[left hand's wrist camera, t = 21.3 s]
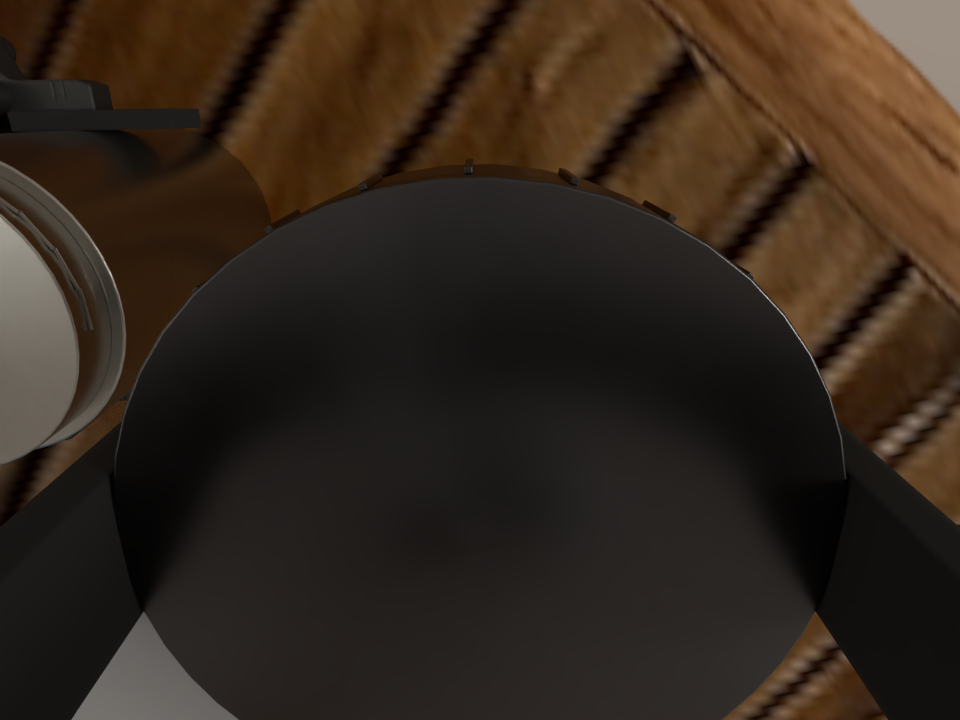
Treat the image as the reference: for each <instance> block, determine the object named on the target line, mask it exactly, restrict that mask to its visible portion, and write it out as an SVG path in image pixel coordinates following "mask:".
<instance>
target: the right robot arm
mask: <svg viewBox="0 0 960 720" xmlns="http://www.w3.org/2000/svg"><path fill="white" fill-rule="evenodd" d="M15 60H16V52H15V49H14V47H13V46H12V44H11V43H10V42H9V41H8V40H6V39H5V38H2V37H0V134H4V133H11V132H21V131H77V130H132V129H179V128H197V127H201V122H200V116H199V110H198V109H122V110H113V107H112V102H111V97H110V92H109V87H108V86H107V85H105V84H102V83H99V82H97V81H90V80H78V79H67V80H30V79H29V78H27V77H26V76H25V75H23V74H22V72H21V71H20V70H19V68H18V66H17V65H16V63H15ZM131 392H132V390H131V391H130V392H129V393H127V394H126V395H125V396H124V397H122V398H121V399H120V400H119V401H122V400H129V397H130V394H131ZM97 418H98V417H97ZM92 422H93V421H92ZM92 422H91V423H92ZM86 427H87V426H86ZM82 430H83V429H82ZM82 430H81V431H82ZM81 431H79V432H81ZM79 432H77V433H76V434H74V435H73V436H71V437H69V438H67V439H65V440H68V439H71V438H73V437H74V436H75V435H77V434H78V433H79Z"/></svg>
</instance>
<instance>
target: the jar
mask: <svg viewBox="0 0 960 720" xmlns="http://www.w3.org/2000/svg"><path fill="white" fill-rule="evenodd" d="M270 224H271V219H270V215H269V211H268V208H267V205H266V202H265V200H264V197H263V195H262V193H261V191H260V189H259V187H258V185H257V184H256V182H255V180H254V179H253V178H252V176H251V175H250V173H249V172H248V170H247V169H246V168H245V167H244V166H243V165H242V164H241V163H240V162H239V160H237V159H236V158H235V157H234V156H233V155H232V154H231V153H230V152H228V151H227V150H226V149H224V148H223V147H221V146H220V145H219V144H217V143H215V142H214V141H212V140H210V139H208V138H206V137H204V136H202V135H199V134H197V133H194V132H191V131H188V130H184V129H180V128H179V129H132V130H77V131H49V132H26V133H4V134H0V465H2V464H6V463H9V462H11V461H14V460H16V459H18V458H20V457H23V456H25V455H27V454H28V453H30V452H31V451H33V450H35V449H39V448H43V447H46V446H50V445H53V444H56V443H58V442H60V441H62V440H65V439H67V438H69V437H71V436H73V435H74V434H76V433H77V432H79V431H81V430H82V429H84V428H85V427H86V426H88V425H89V424H90V423H91V422H92V421H94V420H95V419H96V418H97V417H99V416H100V415H101V414H102V413H104V412H105V411H106V410H107V409H109V408H110V407H111V406H112V405H114V404H115V403H116V402H117V401H119V400H120V399H121V398H122V397H124V396H125V395H126V394H127V393H129V392H130V391H131V390H132V389H133V386H134V384H135V381H136V378H137V376H138V373H139V371H140V369H141V367H142V365H143V364H144V362H145V360H146V358H147V357H148V355H149V353H150V351H151V350H152V348H153V346H154V344H155V343H156V341H157V339H158V337H159V336H160V334H161V332H162V331H163V329H164V328H165V327H166V326H167V324H168V323H169V322H170V321H171V319H172V318H173V317H174V316H175V314H176V313H177V312H178V311H179V309H180V308H181V307H182V306H183V305H184V303H185V302H186V301H187V300H188V298H189V297H190V296H191V295H192V293H193V292H192V290H193V289H194V288H195V287H196V286H198V285H199V284H201V283H203V282H204V281H206V280H208V279H209V278H210V277H211V276H212V275H213V274H214V273H215V272H216V271H217V270H219V269H220V268H221V267H222V266H223V265H224V264H225V263H226V262H227V261H228V260H230V259H231V258H232V257H233V256H235V255H236V254H238V253H239V252H241V251H242V250H244V249H245V248H247V247H248V246H250V245H251V244H253V243H254V242H256V241H257V240H259V239H260V238H262V237H263V236H265V235H266V234H268V233H267V232H266V230H265V228H266V227H267V226H269V225H270Z"/></svg>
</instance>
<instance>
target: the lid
mask: <svg viewBox="0 0 960 720" xmlns="http://www.w3.org/2000/svg"><path fill="white" fill-rule="evenodd" d="M676 218H677V217H675V216H674V215H672V214H670V213H668V212H666V211H665V210H663V209H661V208H659V207H657V206H655V205H653V204H652V203H650V202H648V201H646V200H645V201H644V202H643V204H642V205H641V204H639V203H638V202H636V201H634V200H632V199H631V198H629V197H626V196H624V195H621V194H619V193H616V192H614V191H611V190H609V189H606V188H604V187H601V186H599V185H596V184H594V183H591V182H589V181H586V180H582V179H579V178H577V177H576V176H575V175H573V174H572V173H570V172H569V171H567V170H566V169H562V168H559V172H558V173H554V172H550V171H546V170H542V169H534V168H525V167H515V166H506V165H496V164H481V165H473V159H466V163H465V165H449V166H440V167H434V168H428V169H422V170H416V171H410V172H404V173H398V174H395V175H392V176H389V177H386V178H382V175H381V173H378V174H375V175H373V176H372V177H370V178H369V179H367V180H365V181H364V182H362V183H360V184H359V185H358V186H357V187H354V188H352V189H349V190H347V191H345V192H343V193H341V194H339V195H337V196H335V197H333V198H331V199H328V200H326V201H324V202H322V203H320V204H318V205H316V206H314V207H312V208H310V209H308V210H307V211H305V212H303V213H301V212H300V211H299V210H296V211H294V212H292V213H291V214H289V215H287V216H285V217H283V218H281V219H280V220H278V221H276V222H274V223H272V224H270V225H269V226H267V227H266V228H265V230H266V232H267V233H268V234H266V235H265V236H263V237H262V238H260V239H259V240H257V241H256V242H254V243H253V244H251V245H250V246H248V247H247V248H245V249H244V250H242V251H241V252H239V253H238V254H236V255H235V256H233V257H232V258H231V259H230V260H228V261H227V262H226V263H225V264H224V265H223V266H222V267H221V268H220V269H219V270H217V271H216V272H215V273H214V274H213V275H212V276H211V277H210V278H209V279H208V280H206V281H204V282H203V283H201V284H199V285H198V286H196V287H195V288H194V289H193V290H192V292H193V293H192V295H191V296H190V297H189V298H188V300H187V301H186V302H185V303H184V305H183V306H182V307H181V308H180V309H179V311H178V312H177V313H176V314H175V316H174V317H173V318H172V319H171V321H170V322H169V323H168V324H167V326H166V327H165V328H164V329H163V331H162V332H161V334H160V336H159V337H158V339H157V341H156V343H155V344H154V346H153V348H152V350H151V351H150V353H149V355H148V357H147V358H146V360H145V362H144V364H143V365H142V367H141V369H140V371H139V373H138V376H137V378H136V381H135V384H134V386H133V389H132V392H131V394H130V397H129V400H128V402H127V405H126V408H125V410H124V413H123V418H122V423H121V428H120V433H119V438H118V443H117V448H116V453H115V464H114V491H113V500H114V509H115V517H116V524H117V528H118V533H119V538H120V542H121V546H122V550H123V554H124V558H125V562H126V566H127V570H128V574H129V578H130V581H131V583H132V585H133V588H134V590H135V592H136V594H137V597H138V599H139V601H140V603H141V606H142V608H143V610H144V613H145V614H146V616H147V617H148V619H149V621H150V622H151V624H152V626H153V627H154V629H155V630H156V632H157V634H158V635H159V637H160V639H161V640H162V642H163V643H164V645H165V647H166V648H167V649H168V650H169V652H170V653H171V654H172V655H173V656H174V658H175V659H176V660H177V661H178V663H179V664H180V665H181V666H182V668H183V669H184V670H185V671H186V673H187V674H188V675H189V676H190V677H191V678H192V679H193V680H194V681H195V682H196V683H197V684H198V685H199V686H200V687H201V688H202V689H203V690H204V691H205V692H206V693H207V694H208V695H209V696H210V697H211V698H212V699H213V700H214V701H215V702H216V703H218V704H219V705H220V706H221V707H223V708H224V709H225V710H227V711H228V712H229V713H230V714H232V715H233V716H234V717H236V718H237V719H238V720H722V719H723V718H725V717H726V716H727V715H728V714H730V713H731V712H732V711H733V710H734V709H735V708H737V707H738V706H739V705H740V704H741V703H742V702H744V701H745V700H746V699H747V698H748V697H749V696H751V695H752V694H753V693H754V692H755V691H756V690H757V689H758V688H759V687H760V686H761V685H762V684H763V683H764V681H765V680H766V679H767V678H768V677H769V676H770V675H771V674H772V673H773V672H774V671H775V670H776V669H777V667H778V666H779V665H780V664H781V663H782V662H783V660H784V659H785V658H786V656H787V655H788V653H789V652H790V651H791V649H792V648H793V646H794V645H795V644H796V642H797V641H798V639H799V638H800V637H801V635H802V634H803V632H804V631H805V629H806V627H807V625H808V623H809V622H810V620H811V618H812V616H813V614H814V612H815V610H816V609H817V607H818V605H819V603H820V601H821V599H822V597H823V595H824V592H825V589H826V587H827V584H828V581H829V578H830V576H831V572H832V568H833V565H834V561H835V557H836V553H837V548H838V544H839V540H840V535H841V531H842V527H843V522H844V517H845V499H846V471H845V461H844V452H843V443H842V436H841V432H840V428H839V425H838V421H837V418H836V414H835V410H834V407H833V403H832V400H831V396H830V393H829V391H828V389H827V387H826V384H825V382H824V380H823V378H822V376H821V374H820V371H819V369H818V367H817V365H816V363H815V361H814V358H813V356H812V354H811V352H810V351H809V349H808V348H807V346H806V345H805V343H804V342H803V340H802V339H801V337H800V336H799V334H798V333H797V331H796V330H795V328H794V327H793V325H792V324H791V322H790V321H789V320H788V318H787V317H786V315H785V314H784V312H783V311H782V310H781V309H780V308H779V307H778V306H777V305H776V304H775V303H774V302H773V301H772V299H771V298H770V297H769V296H768V295H767V294H766V293H765V292H764V291H763V290H762V289H761V288H760V287H759V285H758V284H757V283H756V282H755V281H754V280H753V278H754V276H753V275H752V274H751V273H750V272H749V271H747V270H745V269H744V268H742V267H740V266H739V265H737V264H735V263H734V262H732V261H730V260H729V259H727V258H726V257H725V256H724V255H722V254H721V253H720V252H719V251H717V250H716V249H715V248H714V247H712V246H711V245H710V244H708V243H706V242H705V241H703V240H701V239H700V238H698V237H696V236H694V235H693V234H691V233H689V232H688V231H686V230H684V229H682V228H681V227H679V226H677V225H676V224H674V222H675V220H676Z"/></svg>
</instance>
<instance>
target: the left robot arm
mask: <svg viewBox="0 0 960 720" xmlns="http://www.w3.org/2000/svg"><path fill="white" fill-rule="evenodd" d="M121 423H122V422H121ZM121 423H119V424H118V425H117V426H116V427H115V428H114V429H113V430H111V431H110V432H109V433H108V434H107V435H106V436H104V437H103V438H102V439H101V440H100V441H99V442H98V443H96V444H95V445H94V446H93V447H92V448H91V449H90V450H88V451H87V452H86V453H85V454H84V455H83V456H81V457H80V458H79V459H78V460H77V461H76V462H75V463H73V464H72V465H71V466H70V467H69V468H68V469H67V470H65V471H64V472H63V473H62V474H61V475H60V476H59V477H57V478H56V479H55V480H54V481H53V482H52V483H50V484H49V485H48V486H47V487H46V488H45V489H44V490H42V491H41V492H40V493H39V494H38V495H37V496H36V497H34V498H33V499H32V500H31V501H30V502H29V503H27V504H26V505H25V506H24V507H23V508H22V509H21V510H19V511H18V512H17V513H16V514H15V515H14V516H13V517H11V518H10V519H9V520H8V521H7V522H6V523H4V524H3V525H2V526H1V527H0V720H238V719H237V718H236V717H234V716H233V715H232V714H230V713H229V712H228V711H227V710H225V709H224V708H223V707H221V706H220V705H219V704H218V703H216V702H215V701H214V700H213V699H212V698H211V697H210V696H209V695H208V694H207V693H206V692H205V691H204V690H203V689H202V688H201V687H200V686H199V685H198V684H197V683H196V682H195V681H194V680H193V679H192V678H191V677H190V676H189V675H188V674H187V673H186V671H185V670H184V669H183V668H182V666H181V665H180V664H179V663H178V661H177V660H176V659H175V658H174V656H173V655H172V654H171V653H170V652H169V650H168V649H167V648H166V647H165V645H164V643H163V642H162V640H161V639H160V637H159V635H158V634H157V632H156V630H155V629H154V627H153V626H152V624H151V622H150V621H149V619H148V617H147V616H146V614H145V613H144V610H143V608H142V606H141V603H140V601H139V599H138V597H137V594H136V592H135V590H134V588H133V585H132V583H131V581H130V578H129V574H128V570H127V566H126V562H125V558H124V554H123V550H122V546H121V542H120V538H119V533H118V528H117V524H116V517H115V509H114V500H113V491H114V464H115V453H116V448H117V443H118V438H119V433H120V428H121ZM838 425H839V428H840V432H841V436H842V443H843V452H844V461H845V471H846V499H845V517H844V522H843V527H842V531H841V535H840V540H839V544H838V548H837V553H836V557H835V561H834V565H833V568H832V572H831V576H830V578H829V581H828V584H827V587H826V589H825V592H824V595H823V597H822V599H821V601H820V603H819V605H818V607H817V609H816V610H815V611H816V613H817V614H818V616H819V617H820V619H821V620H822V622H823V623H824V625H825V626H826V627H827V629H828V630H829V632H830V633H831V635H832V636H833V638H834V639H835V641H836V642H837V644H838V645H839V647H840V648H841V650H842V651H843V653H844V654H845V656H846V657H847V659H848V660H849V662H850V663H851V665H852V666H853V668H854V669H855V671H856V672H857V674H858V675H859V677H860V678H861V680H862V681H863V683H864V684H865V686H866V687H867V689H868V690H869V692H870V693H871V695H872V696H873V698H874V699H875V701H876V702H877V704H878V705H879V707H880V708H881V710H882V711H883V713H884V714H885V716H886V717H887V719H888V720H960V525H956V524H955V523H954V522H953V521H952V520H950V519H949V518H948V517H947V516H946V515H945V514H944V513H942V512H941V511H940V510H939V509H938V508H937V507H936V506H934V505H933V504H932V503H931V502H930V501H929V500H927V499H926V498H925V497H924V496H923V495H922V494H921V493H919V492H918V491H917V490H916V489H915V488H914V487H913V486H911V485H910V484H909V483H908V482H907V481H906V480H904V479H903V478H902V477H901V476H900V475H899V474H898V473H896V472H895V471H894V470H893V469H892V468H891V467H890V466H888V465H887V464H886V463H885V462H884V461H883V460H882V459H880V458H879V457H878V456H877V455H876V454H875V453H873V452H872V451H871V450H870V449H869V448H868V447H867V446H865V445H864V444H863V443H862V442H861V441H860V440H859V439H857V438H856V437H855V436H854V435H853V434H852V433H850V432H849V431H848V430H847V429H846V428H845V427H844V426H842V425H841V424H840V423H839V422H838Z"/></svg>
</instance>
